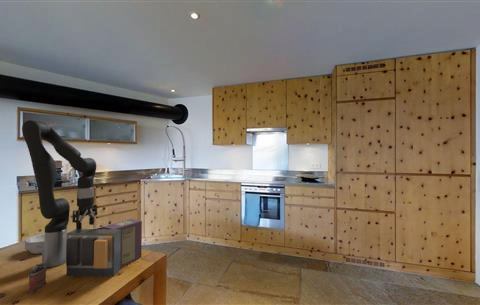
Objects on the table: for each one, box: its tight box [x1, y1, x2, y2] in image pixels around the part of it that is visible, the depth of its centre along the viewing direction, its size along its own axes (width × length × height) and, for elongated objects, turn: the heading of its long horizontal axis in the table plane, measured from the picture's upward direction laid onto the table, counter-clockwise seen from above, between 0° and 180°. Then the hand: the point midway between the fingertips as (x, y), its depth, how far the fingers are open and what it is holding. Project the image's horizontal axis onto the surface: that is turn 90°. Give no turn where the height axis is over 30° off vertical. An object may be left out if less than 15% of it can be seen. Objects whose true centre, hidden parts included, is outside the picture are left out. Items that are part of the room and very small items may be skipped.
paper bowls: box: [24, 233, 45, 255], centre depth 140 cm, size 15×15×8 cm
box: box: [102, 218, 143, 268], centre depth 127 cm, size 17×9×20 cm, turn 153°
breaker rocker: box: [94, 240, 108, 268], centre depth 108 cm, size 5×3×12 cm, turn 90°
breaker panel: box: [65, 228, 121, 277], centre depth 113 cm, size 22×8×20 cm, turn 90°
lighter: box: [27, 262, 48, 295], centre depth 101 cm, size 8×3×10 cm, turn 5°
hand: (85, 227), depth 124 cm, fingers open, 8 cm apart
